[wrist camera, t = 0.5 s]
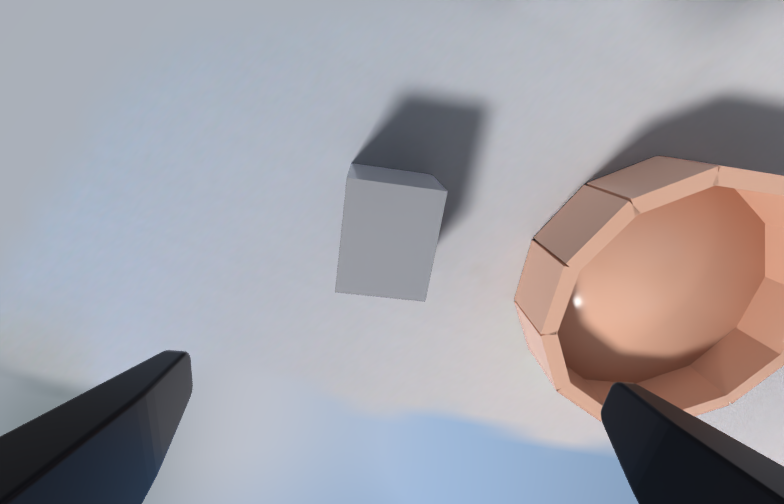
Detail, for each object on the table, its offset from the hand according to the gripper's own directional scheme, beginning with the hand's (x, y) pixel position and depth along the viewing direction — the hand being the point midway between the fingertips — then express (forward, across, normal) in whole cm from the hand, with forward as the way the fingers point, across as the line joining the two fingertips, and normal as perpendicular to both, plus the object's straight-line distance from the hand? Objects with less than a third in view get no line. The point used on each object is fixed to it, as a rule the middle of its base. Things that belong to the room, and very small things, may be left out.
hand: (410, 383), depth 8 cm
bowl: (+12, -15, +2) cm, 19 cm away
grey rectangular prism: (+12, 0, 0) cm, 12 cm away
